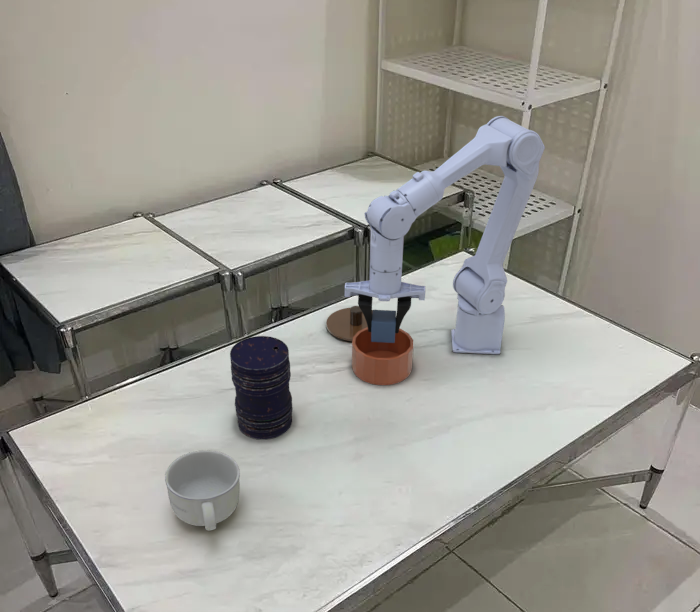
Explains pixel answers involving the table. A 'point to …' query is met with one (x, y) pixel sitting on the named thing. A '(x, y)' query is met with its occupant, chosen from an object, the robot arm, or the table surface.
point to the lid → (346, 323)
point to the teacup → (203, 487)
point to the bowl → (382, 358)
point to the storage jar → (262, 386)
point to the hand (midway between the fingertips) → (383, 329)
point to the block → (383, 326)
